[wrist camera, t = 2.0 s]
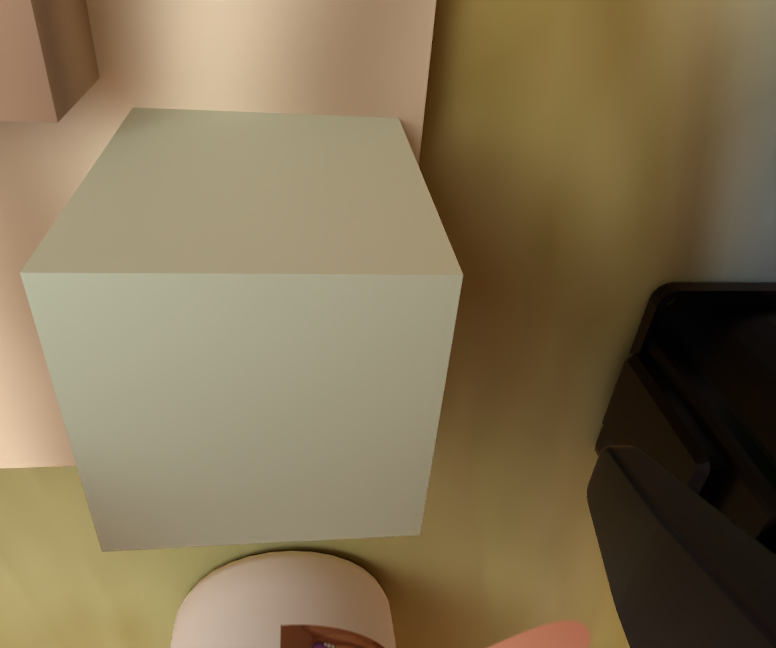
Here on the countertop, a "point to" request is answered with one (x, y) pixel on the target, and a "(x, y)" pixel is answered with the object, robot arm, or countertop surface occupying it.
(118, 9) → the board
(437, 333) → the top block
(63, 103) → the base block
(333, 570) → the milk bottle
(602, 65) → the countertop surface
